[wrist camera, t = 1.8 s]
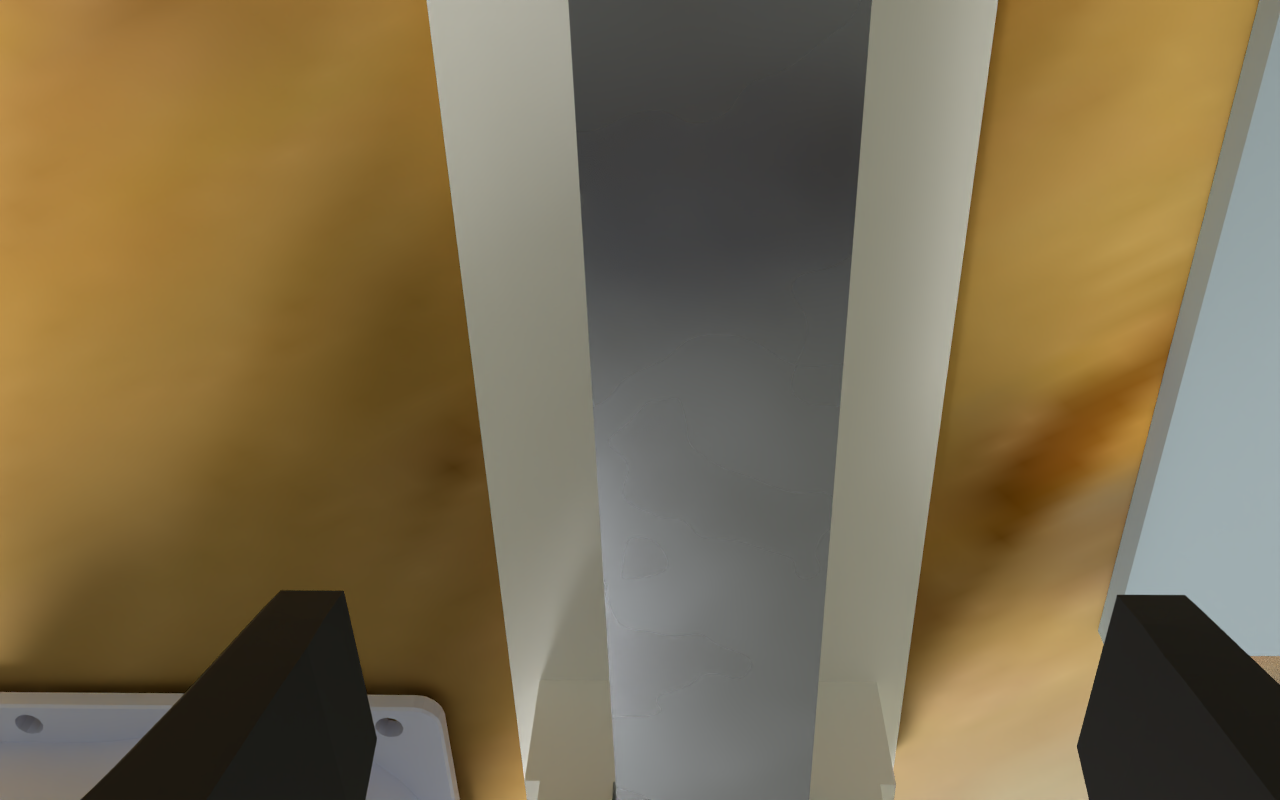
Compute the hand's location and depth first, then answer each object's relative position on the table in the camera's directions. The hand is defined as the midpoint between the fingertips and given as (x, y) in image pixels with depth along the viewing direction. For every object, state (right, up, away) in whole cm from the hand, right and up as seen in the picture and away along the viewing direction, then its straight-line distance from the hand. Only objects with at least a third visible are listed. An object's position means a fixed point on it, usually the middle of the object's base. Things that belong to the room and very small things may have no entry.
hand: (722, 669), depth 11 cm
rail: (0, +2, +4) cm, 4 cm away
